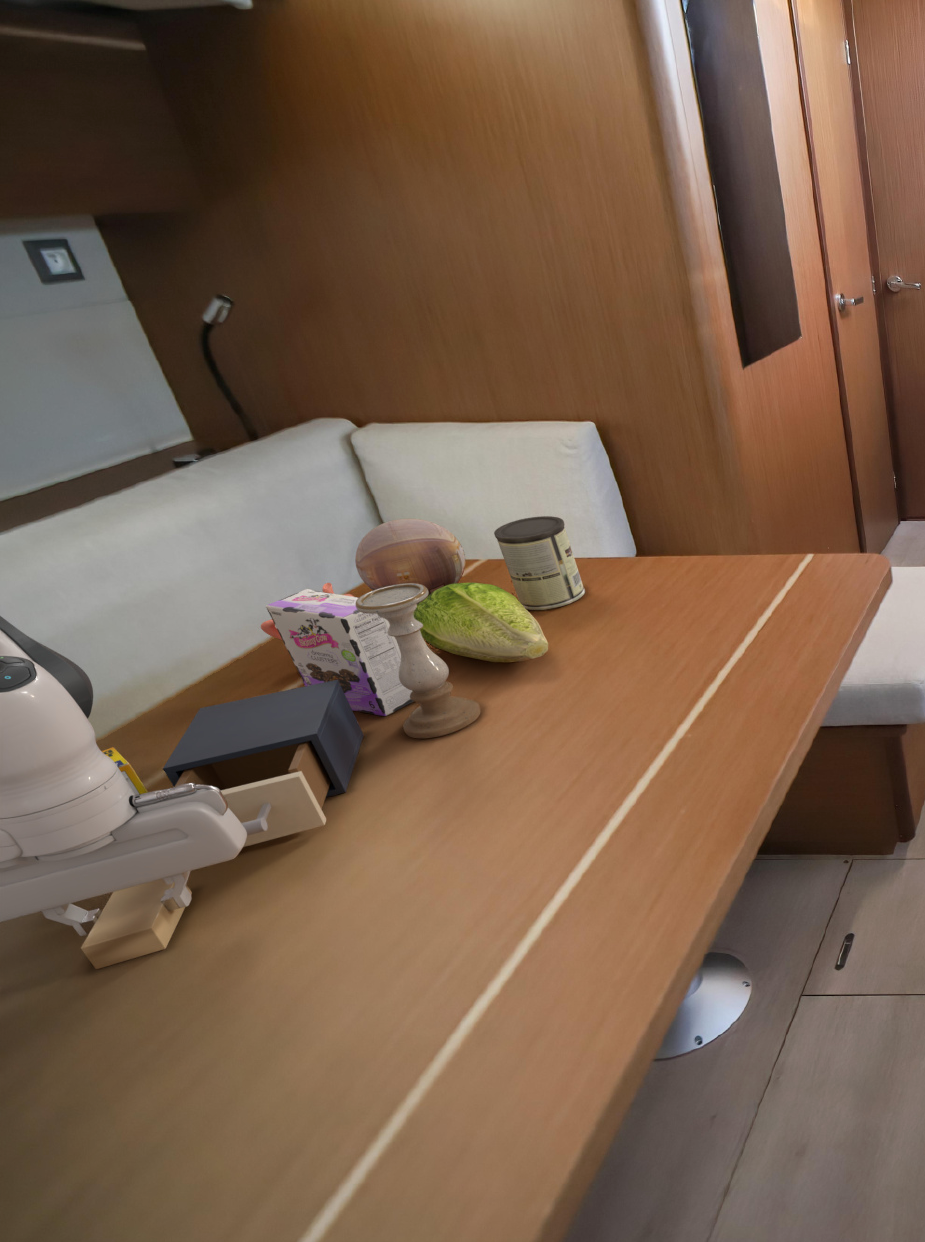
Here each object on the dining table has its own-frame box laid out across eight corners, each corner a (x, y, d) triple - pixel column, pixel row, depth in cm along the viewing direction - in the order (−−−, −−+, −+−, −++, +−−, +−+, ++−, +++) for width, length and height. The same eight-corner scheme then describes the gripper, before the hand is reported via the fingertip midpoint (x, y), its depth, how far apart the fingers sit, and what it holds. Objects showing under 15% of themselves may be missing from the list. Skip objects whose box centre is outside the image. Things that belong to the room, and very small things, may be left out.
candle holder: (412, 713, 128) (357, 587, 119) (485, 699, 132) (437, 575, 123) (398, 745, 121) (339, 614, 112) (476, 729, 125) (425, 601, 116)
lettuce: (478, 666, 130) (535, 594, 135) (382, 622, 139) (438, 556, 144) (543, 697, 141) (594, 630, 145) (449, 654, 149) (500, 592, 154)
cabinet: (346, 792, 112) (316, 733, 108) (199, 830, 106) (162, 768, 102) (364, 734, 123) (337, 679, 119) (232, 765, 117) (199, 708, 113)
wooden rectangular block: (96, 969, 88) (80, 948, 86) (128, 910, 95) (114, 889, 93) (166, 948, 90) (151, 927, 89) (192, 892, 97) (179, 872, 96)
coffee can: (515, 595, 163) (490, 524, 156) (580, 581, 168) (558, 511, 162) (523, 616, 155) (497, 542, 149) (590, 600, 161) (568, 528, 155)
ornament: (495, 579, 168) (468, 505, 162) (442, 616, 155) (411, 537, 148) (412, 581, 167) (382, 506, 161) (352, 618, 154) (317, 538, 147)
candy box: (311, 704, 130) (261, 604, 123) (352, 683, 135) (307, 587, 128) (385, 718, 127) (339, 616, 120) (424, 696, 132) (382, 598, 125)
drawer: (317, 849, 102) (290, 799, 99) (168, 890, 96) (134, 838, 93) (344, 765, 116) (321, 719, 113) (215, 797, 110) (187, 749, 107)
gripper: (221, 761, 93) (278, 861, 99) (-75, 829, 83) (8, 936, 89) (204, 794, 88) (264, 897, 94) (-113, 871, 78) (-22, 980, 84)
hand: (138, 917), depth 92 cm, fingers closed on wooden rectangular block, 5 cm apart
